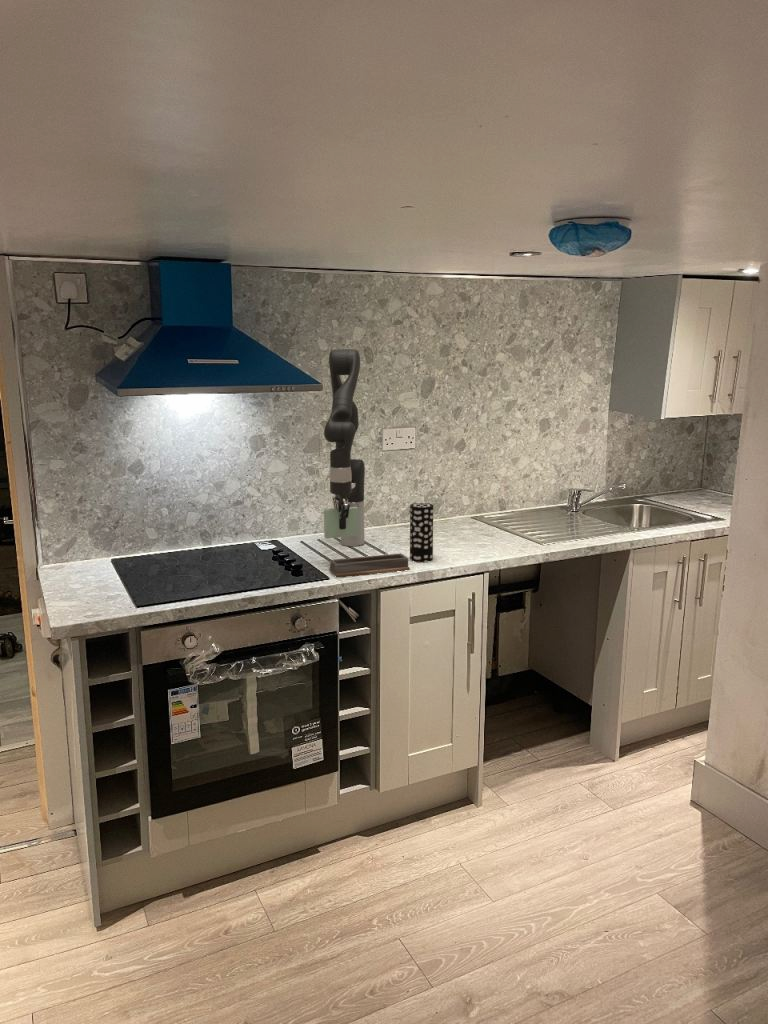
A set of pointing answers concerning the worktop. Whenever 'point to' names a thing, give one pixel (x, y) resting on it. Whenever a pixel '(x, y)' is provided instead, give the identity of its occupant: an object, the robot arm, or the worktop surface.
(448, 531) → the worktop surface
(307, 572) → the worktop surface
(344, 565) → the door track
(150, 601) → the worktop surface
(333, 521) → the door panel
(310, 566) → the worktop surface
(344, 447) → the robot arm
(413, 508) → the spotted tube
